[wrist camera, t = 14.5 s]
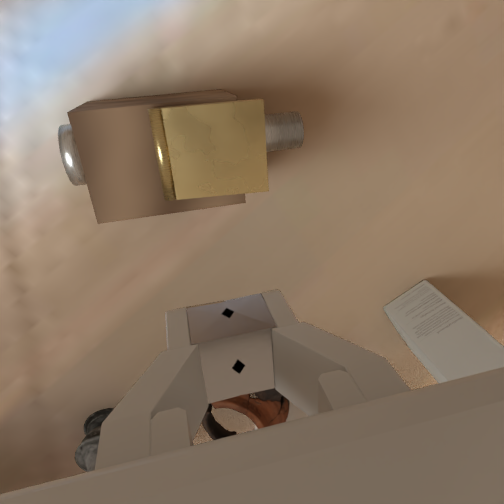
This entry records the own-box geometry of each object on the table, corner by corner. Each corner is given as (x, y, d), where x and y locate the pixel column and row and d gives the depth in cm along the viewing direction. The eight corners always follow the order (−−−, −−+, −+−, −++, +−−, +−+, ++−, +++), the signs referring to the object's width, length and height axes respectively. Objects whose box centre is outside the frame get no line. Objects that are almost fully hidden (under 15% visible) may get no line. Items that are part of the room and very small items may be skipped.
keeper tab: (165, 196, 26) (163, 201, 25) (149, 108, 23) (146, 109, 22) (267, 187, 26) (268, 191, 25) (262, 98, 23) (263, 99, 23)
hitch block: (109, 192, 32) (97, 223, 25) (87, 101, 28) (67, 112, 22) (229, 177, 33) (245, 202, 27) (220, 89, 30) (236, 96, 24)
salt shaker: (118, 398, 41) (105, 513, 31) (147, 429, 44) (144, 544, 33) (69, 422, 41) (38, 546, 31) (101, 452, 44) (83, 575, 33)
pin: (82, 177, 29) (72, 192, 25) (67, 121, 27) (53, 130, 23) (290, 151, 31) (307, 162, 28) (289, 98, 30) (306, 103, 26)
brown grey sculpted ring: (274, 412, 48) (253, 474, 41) (210, 371, 48) (178, 425, 41) (326, 357, 41) (311, 419, 34) (251, 309, 42) (222, 361, 35)
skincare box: (447, 320, 47) (559, 420, 34) (405, 348, 47) (499, 457, 34) (422, 275, 43) (538, 368, 30) (377, 306, 43) (471, 411, 30)
